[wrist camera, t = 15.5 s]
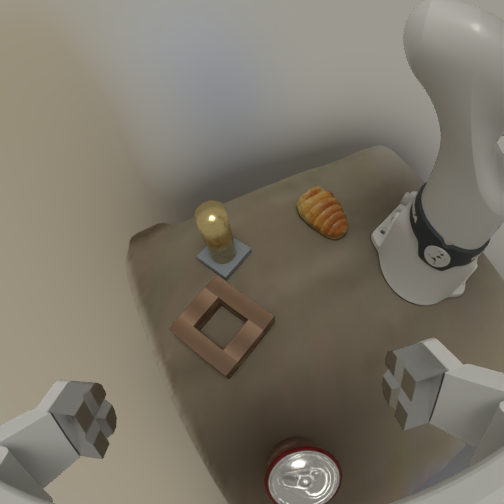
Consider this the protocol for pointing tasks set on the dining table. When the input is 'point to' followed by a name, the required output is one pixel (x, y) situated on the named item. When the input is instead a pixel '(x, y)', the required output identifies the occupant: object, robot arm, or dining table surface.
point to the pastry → (323, 213)
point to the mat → (227, 268)
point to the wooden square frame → (204, 309)
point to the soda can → (301, 473)
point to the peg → (216, 231)
